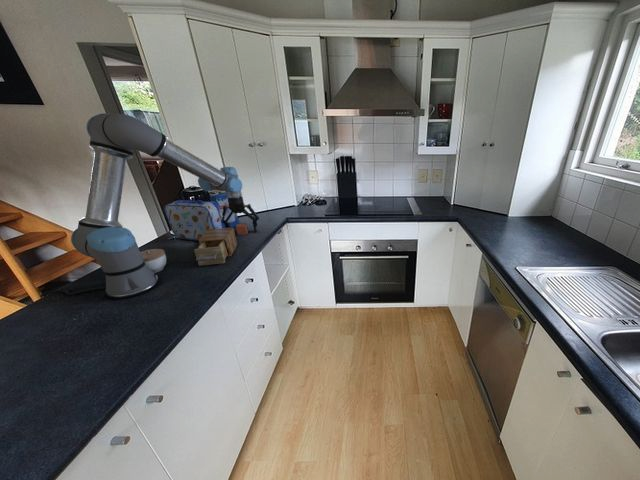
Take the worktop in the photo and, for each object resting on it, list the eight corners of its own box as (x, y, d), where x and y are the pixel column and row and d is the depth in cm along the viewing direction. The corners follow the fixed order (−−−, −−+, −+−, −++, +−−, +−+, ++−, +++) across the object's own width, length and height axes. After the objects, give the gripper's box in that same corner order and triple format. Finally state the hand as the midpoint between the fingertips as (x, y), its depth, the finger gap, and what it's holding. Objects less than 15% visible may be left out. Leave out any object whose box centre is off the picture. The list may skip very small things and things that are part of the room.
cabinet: (231, 256, 131) (226, 237, 127) (204, 258, 128) (198, 240, 124) (237, 244, 144) (233, 227, 140) (213, 246, 141) (207, 229, 137)
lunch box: (231, 235, 155) (221, 197, 145) (220, 242, 145) (208, 202, 136) (185, 233, 157) (173, 195, 147) (171, 240, 147) (157, 200, 138)
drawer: (222, 268, 119) (217, 252, 115) (195, 271, 116) (189, 254, 113) (231, 250, 135) (227, 236, 131) (208, 253, 132) (203, 238, 129)
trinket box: (153, 277, 113) (145, 257, 109) (132, 274, 115) (123, 254, 111) (176, 265, 122) (169, 246, 118) (156, 263, 124) (148, 244, 120)
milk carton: (223, 229, 163) (215, 196, 155) (218, 227, 166) (209, 195, 157) (239, 224, 171) (231, 193, 162) (233, 223, 174) (225, 191, 165)
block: (237, 234, 156) (235, 226, 154) (239, 231, 160) (237, 223, 158) (247, 234, 157) (245, 226, 155) (248, 231, 161) (246, 223, 159)
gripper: (207, 199, 143) (218, 237, 152) (258, 196, 149) (265, 232, 158) (211, 196, 149) (221, 232, 159) (259, 193, 155) (266, 228, 165)
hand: (243, 232), depth 159 cm, fingers open, 13 cm apart
